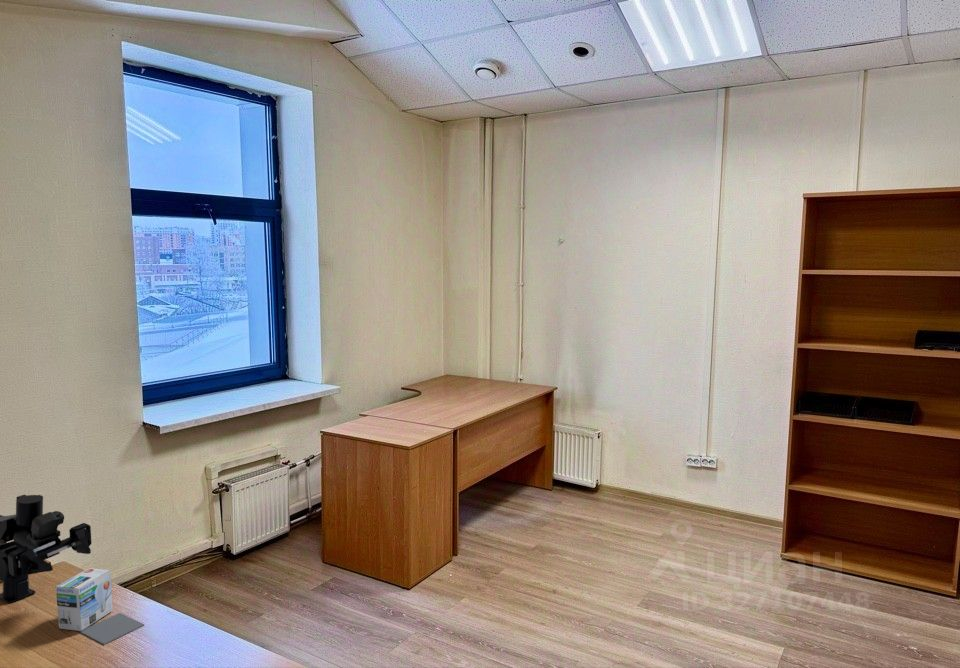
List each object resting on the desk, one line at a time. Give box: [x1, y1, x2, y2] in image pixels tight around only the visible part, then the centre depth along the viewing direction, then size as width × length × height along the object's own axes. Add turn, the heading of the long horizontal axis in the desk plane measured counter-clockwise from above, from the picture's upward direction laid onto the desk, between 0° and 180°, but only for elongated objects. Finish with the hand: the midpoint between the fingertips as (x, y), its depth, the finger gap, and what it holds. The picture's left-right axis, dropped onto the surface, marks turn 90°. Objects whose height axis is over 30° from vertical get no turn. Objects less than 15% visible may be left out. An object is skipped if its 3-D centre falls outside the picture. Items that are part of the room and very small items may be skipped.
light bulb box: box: [55, 567, 114, 632], centre depth 165 cm, size 11×7×11 cm, turn 168°
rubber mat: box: [79, 612, 145, 646], centre depth 162 cm, size 10×10×1 cm
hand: (71, 560), depth 163 cm, fingers open, 9 cm apart
